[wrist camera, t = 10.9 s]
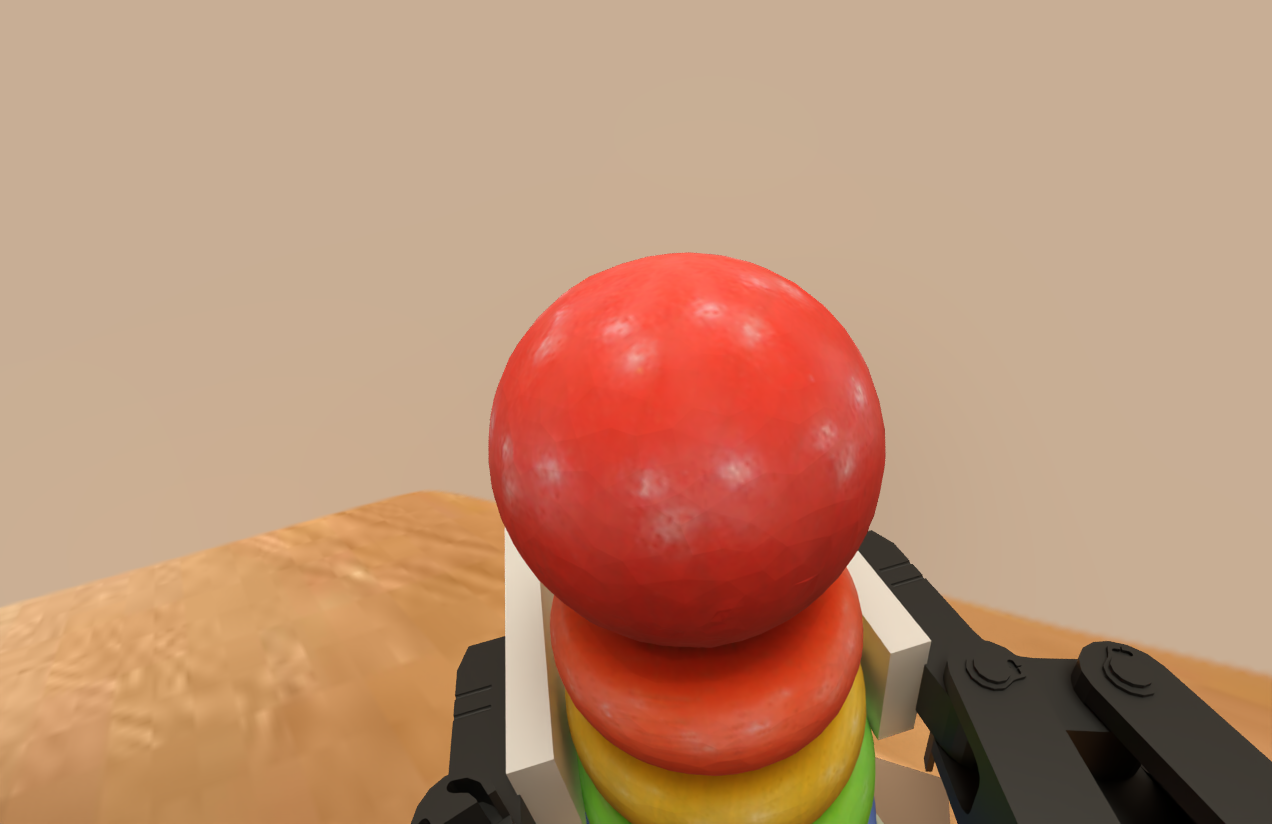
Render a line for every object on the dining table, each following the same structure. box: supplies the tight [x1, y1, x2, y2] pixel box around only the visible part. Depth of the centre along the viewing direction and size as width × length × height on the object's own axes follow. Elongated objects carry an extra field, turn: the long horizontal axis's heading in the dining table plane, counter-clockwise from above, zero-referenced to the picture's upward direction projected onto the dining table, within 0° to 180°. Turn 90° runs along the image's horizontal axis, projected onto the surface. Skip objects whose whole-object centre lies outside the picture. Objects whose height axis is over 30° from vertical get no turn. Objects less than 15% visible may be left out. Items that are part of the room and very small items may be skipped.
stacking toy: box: [489, 253, 885, 824], centre depth 11 cm, size 8×8×19 cm
